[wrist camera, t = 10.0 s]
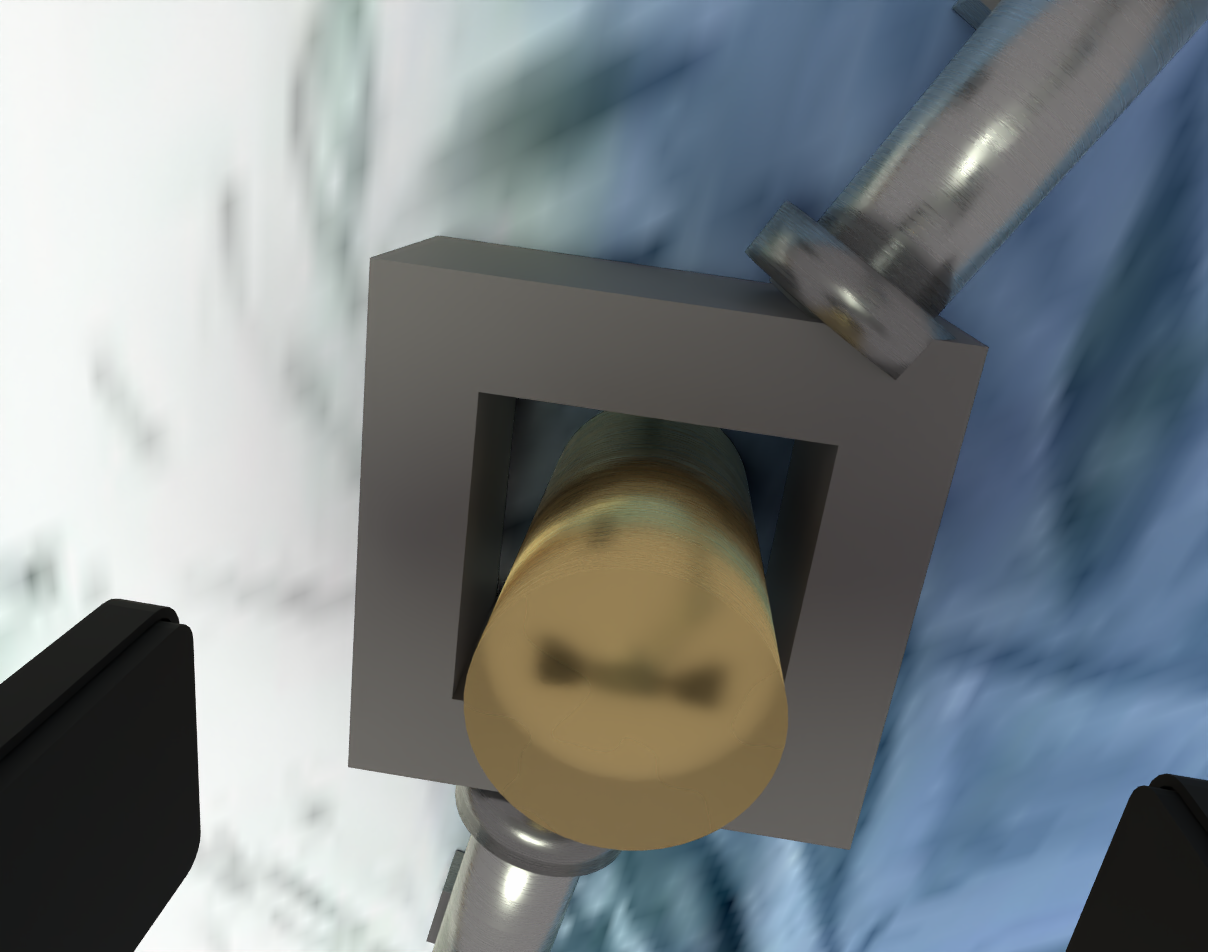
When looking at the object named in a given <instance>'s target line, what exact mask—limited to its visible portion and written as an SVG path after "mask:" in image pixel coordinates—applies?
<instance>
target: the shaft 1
mask: <svg viewBox="0 0 1208 952" xmlns="http://www.w3.org/2000/svg"><path fill="white" fill-rule="evenodd" d="M455 799H456V805H457V809H458V812H459V815H460V817H461V819H462V821H463V823H464V825H465V826H466V828H467V829H468V831H469V832H470V833H471V836H470V839H469V842H468V845H467V848H466V851H465V853H463V852H460V851H457V850H456V852H455V855H454V858H453V861H452V864H451V867H450V870H449V873H448V876H447V879H446V882H445V885H444V888H443V891H442V894H441V898H440V901H439V904H438V907H437V910H436V913H435V916H434V919H433V922H432V925H431V928H430V931H429V935H428V938H427V941H428V942H431V943H434V944H435V945H434V948H433V951H432V952H550V951H551V948H552V946H553V943H554V941H555V938H556V936H557V933H558V931H559V928H560V925H561V923H562V920H563V918H564V915H565V913H566V910H567V907H568V905H569V902H570V900H571V897H572V895H573V892H574V889H575V887H576V884H577V882H578V879H579V877H580V876H582V875H587V874H590V873H593V872H596V871H598V870H600V869H602V868H604V867H606V866H607V865H609V864H610V863H611V862H613V861H614V860H615V859H616V858H617V856H618V855H619V854H620V852H621V851H622V850H616V849H607V848H600V847H596V846H591V845H587V844H583V843H580V842H577V841H574V840H571V839H568V838H565V837H563V836H560V835H558V834H556V833H554V832H552V831H550V830H547V829H546V828H544V827H542V826H541V825H539V824H537V823H536V822H534V821H532V820H531V819H529V818H528V817H526V816H525V815H524V814H523V813H521V812H520V811H519V810H517V809H516V808H515V807H514V806H513V805H512V804H510V803H509V802H508V801H507V800H506V799H505V798H504V797H503V796H502V795H501V794H500V793H499V792H496V791H490V790H484V789H478V788H472V787H466V786H460V785H456V790H455Z"/></svg>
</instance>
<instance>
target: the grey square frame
mask: <svg viewBox="0 0 1208 952" xmlns="http://www.w3.org/2000/svg"><path fill="white" fill-rule="evenodd" d="M935 320H936V321H937V322H938V323H939V324H941V325H942V326H943V327H944V328H945V329H946V330H947V331H948V332H950V333H951V334H952V335H953V336H954V337H955V338H956V340H936V339H933V340H932V342H931V343H930V344H929V345H928V346H927V347H926V348H925V349H924V350H923V351H922V352H921V353H920V355H919V356H918V357H917V358H916V359H915V360H914V361H913V362H912V363H911V364H910V365H909V366H908V368H907V369H906V370H905V371H904V372H903V373H902V374H901V375H900V376H899V377H898V378H897V380H894V379H893V378H892V377H891V376H889V375H888V374H887V373H885V372H884V371H883V370H882V369H880V368H879V367H878V366H876V365H875V364H874V363H873V362H871V361H870V360H869V359H868V358H866V357H865V356H864V355H863V354H861V353H860V352H859V351H858V350H857V349H855V348H854V347H853V346H852V345H850V344H849V343H848V342H847V341H845V340H844V339H843V338H842V337H841V336H839V335H838V334H837V333H836V332H835V331H833V330H832V329H831V328H830V327H829V326H827V325H826V324H825V323H824V322H823V321H821V320H820V319H816V318H811V317H809V316H807V315H806V314H805V313H804V312H803V311H802V310H800V309H799V308H798V307H797V306H796V305H795V304H794V303H792V302H791V301H790V300H789V299H788V298H787V297H786V296H785V295H784V294H783V293H781V292H780V291H779V290H778V289H777V288H776V287H775V286H774V285H773V284H772V283H765V282H758V281H751V280H744V279H737V278H730V277H723V276H716V275H709V274H702V273H695V272H688V271H681V270H674V269H667V268H660V267H653V266H646V265H639V264H632V263H625V262H618V261H611V260H604V259H597V258H590V257H583V256H576V255H569V254H562V253H555V252H548V251H542V250H535V249H528V248H521V247H514V246H507V245H500V244H493V243H486V242H479V241H472V240H465V239H458V238H451V237H444V236H435V237H432V238H429V239H426V240H423V241H420V242H417V243H414V244H411V245H408V246H405V247H402V248H399V249H396V250H393V251H390V252H386V253H383V254H380V255H377V256H374V257H371V258H370V270H369V293H368V316H367V339H366V363H365V386H364V409H363V432H362V456H361V479H360V502H359V526H358V549H357V572H356V595H355V619H354V642H353V665H352V688H351V712H350V735H349V758H348V767H351V768H357V769H363V770H369V771H375V772H381V773H387V774H393V775H399V776H405V777H411V778H418V779H424V780H430V781H436V782H442V783H448V784H454V785H460V786H466V787H472V788H478V789H484V790H490V791H496V792H499V791H498V790H497V789H496V788H495V786H494V785H493V784H492V783H491V781H490V780H489V779H488V777H487V776H486V774H485V772H484V771H483V769H482V767H481V766H480V764H479V763H478V760H477V758H476V756H475V753H474V751H473V749H472V747H471V744H470V740H469V737H468V733H467V730H466V724H465V716H464V689H465V683H466V677H467V673H468V670H469V667H470V663H471V660H472V657H473V655H474V653H475V650H476V648H477V646H478V644H479V641H480V639H481V637H482V634H483V632H484V630H485V628H486V625H487V623H488V621H489V618H490V616H491V614H492V612H493V609H494V607H495V605H496V602H497V600H498V598H499V596H496V593H497V583H498V573H499V563H500V554H501V544H502V534H503V524H504V514H505V504H506V494H507V484H508V474H509V465H510V455H511V445H512V435H513V425H514V415H515V405H516V398H523V399H530V400H536V401H543V402H550V403H557V404H563V405H570V406H577V407H583V408H590V409H597V410H603V411H610V412H617V413H623V414H630V415H637V416H644V417H650V418H657V419H664V420H670V421H677V422H684V423H690V424H697V425H704V426H711V427H717V428H724V429H731V430H737V431H744V432H751V433H757V434H764V435H771V436H777V437H784V438H791V439H795V440H794V445H793V450H792V455H791V459H790V464H789V469H788V474H787V478H786V483H785V488H784V493H783V497H782V502H781V507H780V512H779V516H778V521H777V526H776V531H775V535H774V540H773V545H772V549H771V554H770V559H769V564H768V568H767V573H766V578H765V581H766V587H767V592H768V598H769V603H770V609H771V614H772V620H773V625H774V631H775V636H776V642H777V647H778V653H779V658H780V664H781V669H782V675H783V680H784V686H785V692H786V698H787V704H788V730H787V736H786V743H785V747H784V750H783V753H782V756H781V760H780V762H779V764H778V767H777V769H776V771H775V773H774V775H773V777H772V779H771V780H770V782H769V783H768V785H767V786H766V787H765V789H764V790H763V792H762V793H761V794H760V796H759V797H758V798H757V799H756V800H755V801H754V802H753V803H752V804H751V805H750V807H749V808H747V809H746V810H745V811H744V812H743V813H741V814H740V815H739V816H738V817H737V818H735V819H734V820H733V821H731V822H729V823H728V824H726V825H725V826H723V827H722V828H721V829H727V830H733V831H739V832H745V833H751V834H757V835H763V836H769V837H775V838H781V839H787V840H794V841H800V842H806V843H812V844H818V845H824V846H830V847H836V848H842V849H848V850H850V847H851V843H852V840H853V836H854V833H855V829H856V825H857V822H858V818H859V815H860V811H861V807H862V804H863V800H864V796H865V793H866V789H867V786H868V782H869V778H870V775H871V771H872V768H873V764H874V760H875V757H876V753H877V749H878V746H879V742H880V739H881V735H882V731H883V728H884V724H885V721H886V717H887V713H888V710H889V706H890V702H891V699H892V695H893V692H894V688H895V684H896V681H897V677H898V673H899V670H900V666H901V663H902V659H903V655H904V652H905V648H906V645H907V641H908V637H909V634H910V630H911V626H912V623H913V619H914V616H915V612H916V608H917V605H918V601H919V598H920V594H921V590H922V587H923V583H924V579H925V576H926V572H927V569H928V565H929V561H930V558H931V554H932V551H933V547H934V543H935V540H936V536H937V532H938V529H939V525H940V522H941V518H942V514H943V511H944V507H945V504H946V500H947V496H948V493H949V489H950V485H951V482H952V478H953V475H954V471H955V467H956V464H957V460H958V457H959V453H960V449H961V446H962V442H963V438H964V435H965V431H966V428H967V424H968V420H969V417H970V413H971V409H972V406H973V402H974V399H975V395H976V391H977V388H978V384H979V381H980V377H981V373H982V370H983V366H984V362H985V359H986V355H987V352H988V348H989V347H987V346H986V345H984V344H983V343H981V342H979V341H978V340H976V339H975V338H973V337H972V336H970V335H968V334H967V333H965V332H964V331H962V330H961V329H959V328H957V327H956V326H954V325H953V324H951V323H950V322H948V321H946V320H945V319H943V318H942V317H940V316H939V315H937V316H936V318H935Z"/></svg>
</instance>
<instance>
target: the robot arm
mask: <svg viewBox="0 0 1208 952" xmlns="http://www.w3.org/2000/svg"><path fill="white" fill-rule="evenodd" d="M200 833H201V830H200V804H199V778H198V751H197V725H196V698H195V672H194V646H193V635H192V631H191V629H190V627H188V626H187V625H184V624H179V618H178V616H177V614H176V612H175V611H174V610H173V609H171V608H170V607H165V606H159V605H153V604H147V603H141V602H135V601H129V600H123V599H110V600H109V601H107V602H105V603H103V604H102V605H101V606H99V607H98V608H97V609H95V610H94V611H93V612H92V613H90V614H89V615H88V616H87V617H85V618H84V619H83V620H81V621H80V622H79V623H78V624H76V625H75V626H74V627H73V628H71V629H70V630H69V631H67V632H66V633H65V634H64V635H62V636H61V637H60V638H59V639H57V640H56V641H55V642H53V643H52V644H51V645H50V646H48V647H47V648H46V649H44V650H43V651H42V652H41V653H39V654H38V655H37V656H36V657H34V658H33V659H32V660H30V661H29V662H28V663H27V664H25V665H24V666H23V667H22V668H20V669H19V670H18V671H16V672H15V673H14V674H13V675H11V676H10V677H9V678H8V679H6V680H5V681H4V682H2V683H1V684H0V952H134V951H135V949H136V948H137V946H138V945H139V943H140V942H141V940H142V939H143V938H144V936H145V935H146V933H147V932H148V930H149V929H150V927H151V926H152V925H153V923H154V922H155V920H156V919H157V917H158V916H159V915H160V913H161V912H162V910H163V909H164V907H165V906H166V904H167V903H168V902H169V900H170V899H171V897H172V896H173V894H174V893H175V891H176V890H177V889H178V887H179V886H180V884H181V883H182V881H183V880H184V878H185V877H186V876H187V874H188V872H189V871H190V869H191V867H192V865H193V863H194V860H195V858H196V855H197V852H198V848H199V843H200ZM1066 952H1208V780H1202V779H1196V778H1190V777H1184V776H1178V775H1172V774H1163V775H1159V776H1157V777H1156V778H1155V779H1154V780H1152V782H1151V783H1150V785H1149V786H1139V787H1138V788H1136V789H1135V790H1134V791H1133V793H1132V794H1131V796H1130V798H1129V800H1128V803H1127V805H1126V807H1125V810H1124V812H1123V815H1122V817H1121V819H1120V822H1119V824H1118V827H1117V829H1116V831H1115V834H1114V836H1113V839H1112V841H1111V843H1110V846H1109V848H1108V851H1107V853H1106V855H1105V858H1104V860H1103V863H1102V865H1101V868H1100V870H1099V872H1098V875H1097V877H1096V880H1095V882H1094V884H1093V887H1092V889H1091V892H1090V894H1089V896H1088V899H1087V901H1086V904H1085V906H1084V908H1083V911H1082V913H1081V916H1080V918H1079V920H1078V923H1077V925H1076V928H1075V930H1074V932H1073V935H1072V937H1071V940H1070V942H1069V944H1068V947H1067V949H1066Z"/></svg>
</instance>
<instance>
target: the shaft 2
mask: <svg viewBox="0 0 1208 952" xmlns="http://www.w3.org/2000/svg"><path fill="white" fill-rule="evenodd" d="M952 8H953V9H954V10H955V11H956V12H957V13H958V14H959V15H960V16H961V17H962V18H964V19H965V20H966V21H967V22H968V23H969V24H970V25H971V26H972V27H974V28H975V29H976V31H975V32H974V33H973V35H972V36H971V37H970V38H969V40H968V41H967V42H966V43H965V44H964V46H963V47H962V48H961V49H960V50H959V52H958V53H957V54H956V55H955V56H954V58H953V59H952V60H951V61H950V62H949V64H948V65H947V66H946V67H945V68H944V70H943V71H942V72H941V73H940V75H939V76H938V77H937V78H936V79H935V81H934V82H933V83H932V84H931V85H930V87H929V88H928V89H927V90H926V91H925V93H924V94H923V95H922V96H921V97H920V99H919V100H918V101H917V102H916V103H915V105H914V106H913V107H912V108H911V109H910V111H909V112H908V113H907V114H906V116H905V117H904V118H903V119H902V120H901V122H900V123H899V124H898V125H897V126H896V128H895V129H894V130H893V131H892V132H891V134H890V135H889V136H888V137H887V138H886V140H885V141H884V142H883V143H882V144H881V146H880V147H879V148H878V149H877V151H876V152H875V153H874V154H873V155H872V157H871V158H870V159H869V160H868V161H867V163H866V164H865V165H864V166H863V167H862V169H861V170H860V171H859V172H858V173H857V175H856V176H855V177H854V178H853V179H852V181H851V182H850V183H849V184H848V186H847V187H846V188H845V189H844V190H843V192H842V193H841V194H840V195H839V196H838V198H837V199H836V200H835V201H834V202H833V204H832V205H831V206H830V207H829V208H828V210H827V211H826V212H825V213H824V214H823V216H822V217H821V218H820V219H819V220H818V222H816V221H815V220H813V219H812V218H811V217H809V216H808V215H807V214H805V213H804V212H803V211H801V210H800V209H799V208H797V207H796V206H795V205H793V204H792V203H790V202H789V201H787V200H786V201H785V202H784V204H783V205H782V206H781V207H780V209H779V210H778V211H777V212H776V213H775V215H774V216H773V217H772V218H771V220H770V221H769V222H768V223H767V225H766V226H765V227H764V228H763V230H762V231H761V232H760V233H759V234H758V236H757V237H756V238H755V239H754V241H753V242H752V243H751V244H750V246H749V247H748V248H747V249H746V251H745V253H746V254H747V255H748V256H749V257H750V258H751V259H752V260H753V261H754V262H755V263H756V264H757V265H758V266H759V267H760V268H761V269H763V270H764V271H765V272H766V273H767V274H768V275H769V276H770V277H771V278H770V282H771V283H772V284H773V285H774V286H775V287H776V288H777V289H778V290H779V291H780V292H781V293H783V294H784V295H785V296H786V297H787V298H788V299H789V300H790V301H791V302H792V303H794V304H795V305H796V306H797V307H798V308H799V309H800V310H802V311H803V312H804V313H805V314H806V315H807V316H809V317H811V318H816V319H820V320H821V321H823V322H824V323H825V324H826V325H827V326H829V327H830V328H831V329H832V330H833V331H835V332H836V333H837V334H838V335H839V336H841V337H842V338H843V339H844V340H845V341H847V342H848V343H849V344H850V345H852V346H853V347H854V348H855V349H857V350H858V351H859V352H860V353H861V354H863V355H864V356H865V357H866V358H868V359H869V360H870V361H871V362H873V363H874V364H875V365H876V366H878V367H879V368H880V369H882V370H883V371H884V372H885V373H887V374H888V375H889V376H891V377H892V378H893V379H894V380H897V378H898V377H899V376H900V375H901V374H902V373H903V372H904V371H905V370H906V369H907V368H908V366H909V365H910V364H911V363H912V362H913V361H914V360H915V359H916V358H917V357H918V356H919V355H920V353H921V352H922V351H923V350H924V349H925V348H926V347H927V346H928V345H929V344H930V343H931V342H932V340H933V339H936V340H956V338H955V337H954V336H953V335H952V334H951V333H950V332H948V331H947V330H946V329H945V328H944V327H943V326H942V325H941V324H939V323H938V322H937V321H936V320H935V318H936V316H937V315H938V314H939V313H940V312H941V311H942V310H943V309H944V308H945V307H946V306H947V304H948V303H949V302H950V301H951V300H952V299H953V298H954V297H955V296H956V295H957V293H958V292H959V291H960V290H961V289H962V288H963V287H964V286H965V285H966V284H967V283H968V281H969V280H970V279H971V278H972V277H973V276H974V275H975V274H976V273H977V272H978V270H979V269H980V268H981V267H982V266H983V265H984V264H985V263H986V262H987V261H988V260H989V258H990V257H991V256H992V255H993V254H994V253H995V252H996V251H997V250H998V249H999V247H1000V246H1001V245H1002V244H1003V243H1004V242H1005V241H1006V240H1007V239H1008V238H1009V237H1010V235H1011V234H1012V233H1013V232H1014V231H1015V230H1016V229H1017V228H1018V227H1019V226H1020V225H1021V223H1022V222H1023V221H1024V220H1025V219H1026V218H1027V217H1028V216H1029V215H1030V214H1031V212H1032V211H1033V210H1034V209H1035V208H1036V207H1037V206H1038V205H1039V204H1040V203H1041V202H1042V200H1043V199H1044V198H1045V197H1046V196H1047V195H1048V194H1049V193H1050V192H1051V191H1052V189H1053V188H1054V187H1055V186H1056V185H1057V184H1058V183H1059V182H1060V181H1061V180H1062V179H1063V177H1064V176H1065V175H1066V174H1067V173H1068V172H1069V171H1070V170H1071V169H1072V168H1073V167H1074V165H1075V164H1076V163H1077V162H1078V161H1079V160H1080V159H1081V158H1082V157H1083V156H1084V154H1085V153H1086V152H1087V151H1088V150H1089V149H1090V148H1091V147H1092V146H1093V145H1094V144H1095V142H1096V141H1097V140H1098V139H1099V138H1100V137H1101V136H1102V135H1103V134H1104V133H1105V131H1106V130H1107V129H1108V128H1109V127H1110V126H1111V125H1112V124H1113V123H1114V122H1115V121H1116V119H1117V118H1118V117H1119V116H1120V115H1121V114H1122V113H1123V112H1124V111H1125V110H1126V109H1127V107H1128V106H1129V105H1130V104H1131V103H1132V102H1133V101H1134V100H1135V99H1136V98H1137V96H1138V95H1139V94H1140V93H1141V92H1142V91H1143V90H1144V89H1145V88H1146V87H1147V86H1148V84H1149V83H1150V82H1151V81H1152V80H1153V79H1154V78H1155V77H1156V76H1157V75H1158V73H1159V72H1160V71H1161V70H1162V69H1163V68H1164V67H1165V66H1166V65H1167V64H1168V63H1169V61H1170V60H1171V59H1172V58H1173V57H1174V56H1175V55H1176V54H1177V53H1178V52H1179V50H1180V49H1181V48H1182V47H1183V46H1184V45H1185V44H1186V43H1187V42H1188V41H1189V40H1190V38H1191V37H1192V36H1193V35H1194V34H1195V33H1196V32H1197V31H1198V30H1199V29H1200V28H1201V26H1202V25H1203V24H1204V23H1205V22H1206V21H1207V20H1208V0H958V1H957V2H956V4H955V5H954V6H953V7H952Z"/></svg>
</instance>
